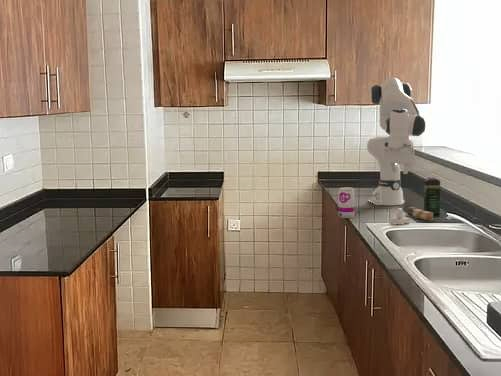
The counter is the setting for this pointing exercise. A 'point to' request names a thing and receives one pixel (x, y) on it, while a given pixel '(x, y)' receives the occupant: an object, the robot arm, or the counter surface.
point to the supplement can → (346, 202)
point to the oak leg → (420, 213)
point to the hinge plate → (418, 217)
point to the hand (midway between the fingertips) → (399, 173)
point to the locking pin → (399, 213)
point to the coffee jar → (432, 195)
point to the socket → (399, 220)
